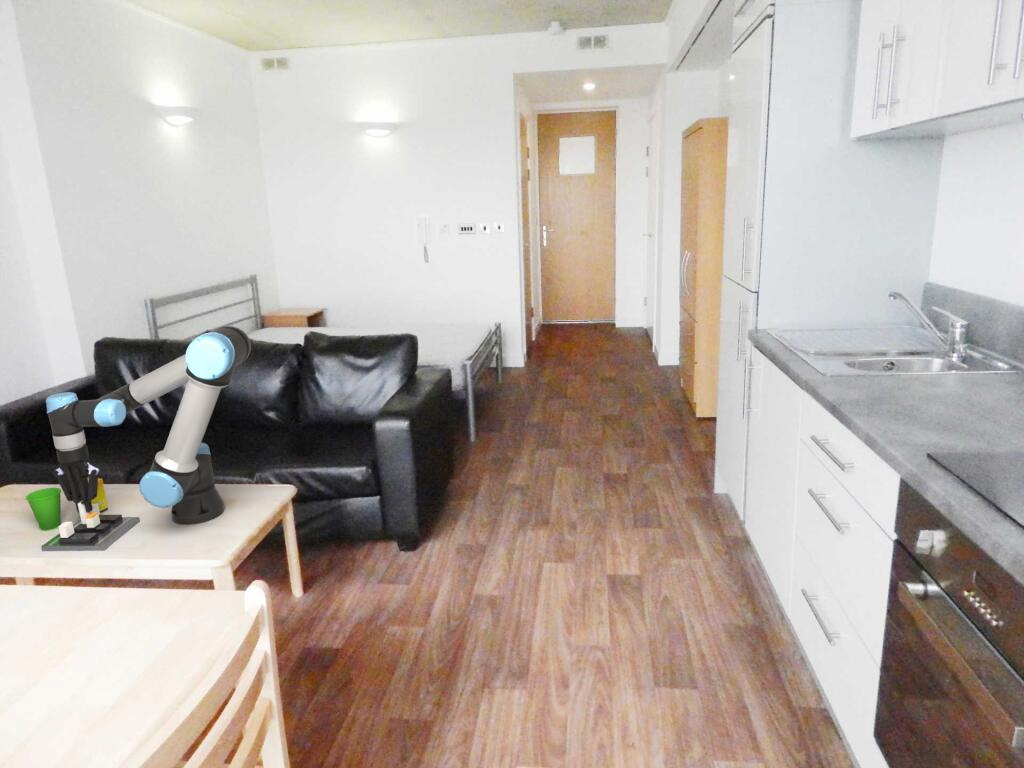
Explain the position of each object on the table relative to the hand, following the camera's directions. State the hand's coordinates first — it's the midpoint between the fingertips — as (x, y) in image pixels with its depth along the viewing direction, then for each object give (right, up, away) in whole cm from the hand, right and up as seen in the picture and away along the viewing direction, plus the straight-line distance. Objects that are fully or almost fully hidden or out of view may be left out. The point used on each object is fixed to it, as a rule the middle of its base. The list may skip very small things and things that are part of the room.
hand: (87, 521), depth 199 cm
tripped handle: (+2, -1, 0) cm, 2 cm away
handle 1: (-2, -3, -5) cm, 6 cm away
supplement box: (-9, -1, +17) cm, 19 cm away
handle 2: (-2, 0, +6) cm, 6 cm away
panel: (+1, -4, +1) cm, 5 cm away
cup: (-16, -3, +7) cm, 18 cm away
